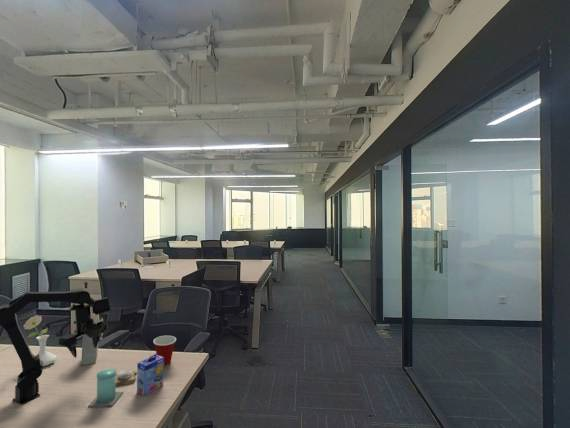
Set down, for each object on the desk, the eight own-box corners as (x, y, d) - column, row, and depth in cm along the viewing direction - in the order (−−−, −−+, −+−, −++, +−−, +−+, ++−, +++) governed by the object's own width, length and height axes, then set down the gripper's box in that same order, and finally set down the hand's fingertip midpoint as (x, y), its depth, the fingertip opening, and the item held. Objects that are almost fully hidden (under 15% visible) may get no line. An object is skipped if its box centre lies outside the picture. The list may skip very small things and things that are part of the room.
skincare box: (83, 359, 159) (83, 328, 159) (99, 356, 162) (99, 326, 162) (80, 366, 151) (80, 333, 152) (97, 363, 154) (97, 331, 155)
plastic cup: (163, 370, 147) (163, 345, 147) (148, 365, 152) (148, 340, 152) (181, 361, 156) (181, 337, 157) (166, 356, 162) (166, 333, 162)
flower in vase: (53, 357, 161) (53, 309, 162) (59, 363, 154) (60, 313, 154) (20, 366, 151) (21, 315, 152) (26, 374, 144) (26, 320, 144)
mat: (88, 407, 118) (88, 405, 118) (100, 394, 127) (100, 392, 127) (112, 406, 119) (112, 404, 119) (123, 393, 128) (123, 391, 128)
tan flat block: (112, 386, 133) (112, 379, 133) (114, 377, 140) (114, 371, 140) (136, 382, 137) (136, 375, 137) (137, 373, 144) (137, 367, 144)
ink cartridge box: (144, 396, 126) (145, 360, 126) (136, 392, 128) (136, 357, 129) (164, 384, 135) (164, 351, 135) (156, 381, 137) (156, 348, 137)
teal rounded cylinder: (99, 405, 118) (99, 378, 119) (94, 398, 123) (94, 372, 124) (118, 398, 123) (118, 372, 124) (112, 391, 128) (113, 367, 128)
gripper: (74, 328, 125) (76, 365, 126) (114, 312, 143) (117, 345, 143) (56, 325, 130) (59, 361, 130) (98, 310, 147) (100, 342, 147)
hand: (85, 352), depth 138 cm, fingers open, 9 cm apart
